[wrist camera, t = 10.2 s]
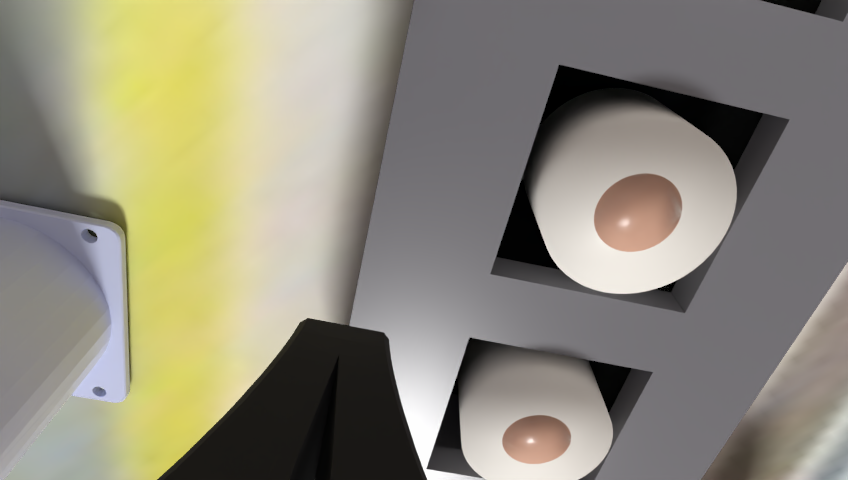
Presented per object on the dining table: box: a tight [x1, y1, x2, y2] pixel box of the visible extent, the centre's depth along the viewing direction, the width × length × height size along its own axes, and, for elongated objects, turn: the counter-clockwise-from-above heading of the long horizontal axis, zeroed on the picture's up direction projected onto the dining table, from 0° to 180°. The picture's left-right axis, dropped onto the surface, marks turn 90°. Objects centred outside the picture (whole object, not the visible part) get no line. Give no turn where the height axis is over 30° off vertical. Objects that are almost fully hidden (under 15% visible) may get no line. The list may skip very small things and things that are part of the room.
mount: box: [349, 0, 848, 480], centre depth 16 cm, size 12×24×4 cm, turn 167°
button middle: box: [523, 88, 737, 294], centre depth 14 cm, size 4×4×3 cm
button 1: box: [457, 338, 613, 480], centre depth 18 cm, size 4×4×3 cm
